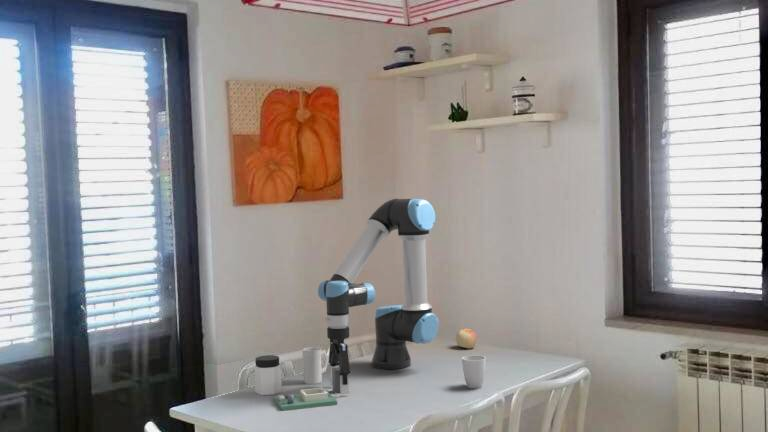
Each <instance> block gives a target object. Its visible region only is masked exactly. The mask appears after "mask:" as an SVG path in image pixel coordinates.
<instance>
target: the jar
mask: <svg viewBox="0 0 768 432" xmlns="http://www.w3.org/2000/svg"><path fill="white" fill-rule="evenodd" d="M254 392H255V393H256V394H258V395H259V396H273V395H274V396H276V395H277V394H279V393H281V392H282V365H281V364H280V356H278V355H274V354H273V355H272V354H268V355H260V356H257V357H255V365H254Z"/></svg>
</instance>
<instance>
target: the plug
mask: <svg viewBox="0 0 768 432" xmlns="http://www.w3.org/2000/svg"><path fill="white" fill-rule="evenodd" d="M344 371H346V370H344ZM339 373H341V372H340V366H339V367H336V368H332V385H333V386H332V392H333V393H334V394H336V395H337V394H340V376H339Z"/></svg>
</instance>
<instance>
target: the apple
mask: <svg viewBox="0 0 768 432" xmlns="http://www.w3.org/2000/svg"><path fill="white" fill-rule="evenodd" d="M455 342H456V345H457V346H458V347H461V348H466V349H472V348H474V347H475V346H476V344H477V342H478V337H477V333H476V332H475V331H474V330H473V329H470V328H462V329H459V330H458V331H457V333H456V335H455Z"/></svg>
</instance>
